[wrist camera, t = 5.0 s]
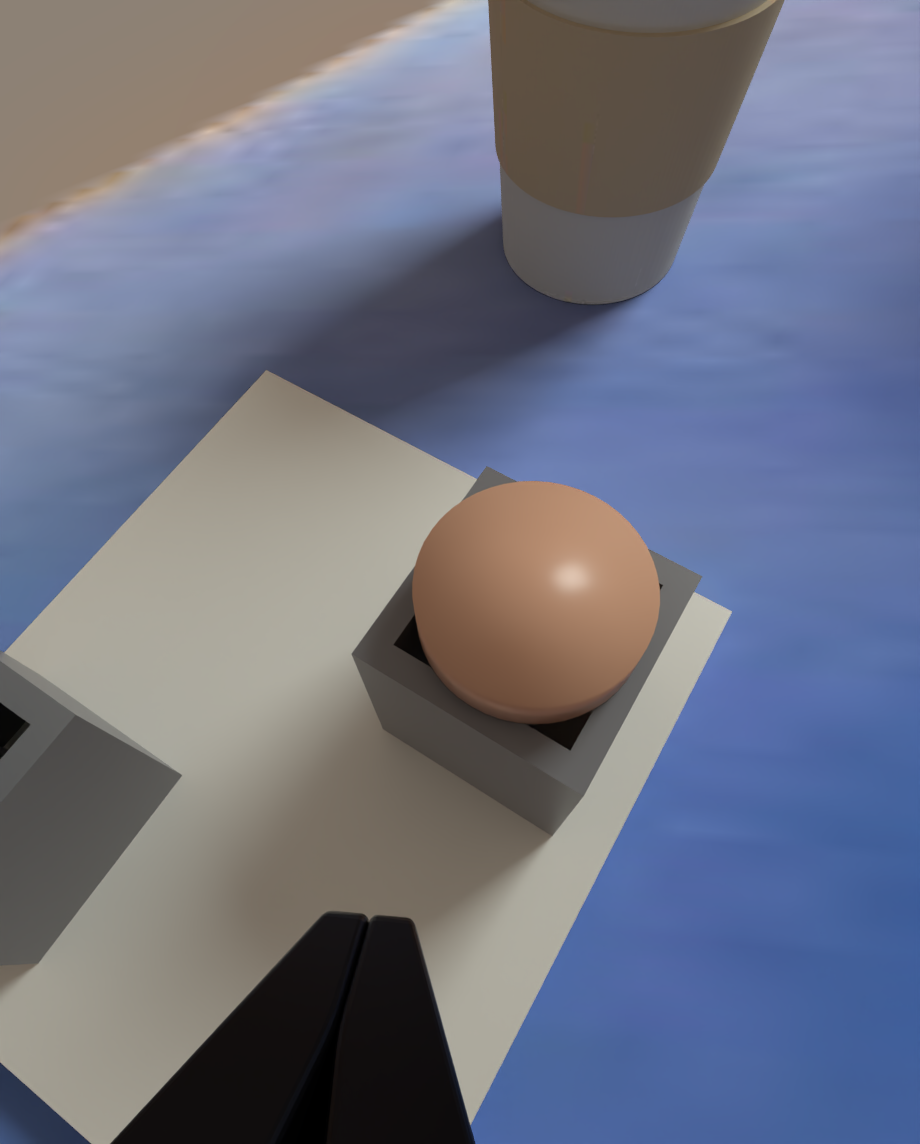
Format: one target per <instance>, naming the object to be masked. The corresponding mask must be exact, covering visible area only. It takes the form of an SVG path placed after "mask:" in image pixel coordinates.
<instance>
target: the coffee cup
mask: <svg viewBox="0 0 920 1144" xmlns="http://www.w3.org/2000/svg"><path fill="white" fill-rule="evenodd" d="M783 3H784V0H488V4H489V24H490V44H491V64H492V85H493V105H494V125H495V145H496V152H497V156H498V159H499V162H500V178H501V202H502V226H503V246H504V252H505V255H506V258H507V261H508V263H509V264H510V266H511V268H512V269H513V271H514V272H515V273H516V274H517V275H518V276H519V277H520V278H521V279H522V280H523V281H524V282H525V283H526V284H528V285H529V286H530V287H532V288H534V289H535V290H537V291H539V292H541V293H543V294H545V295H547V296H550V297H552V298H555V299H558V300H562V301H566V302H571V303H578V304H608V303H614V302H619V301H623V300H626V299H630V298H632V297H635V296H637V295H640V294H642V293H644V292H645V291H647V290H649V289H650V288H652V287H653V286H655V285H656V284H657V283H658V282H659V281H660V280H661V279H662V278H663V277H664V276H665V275H666V274H667V272H668V271H669V269H670V268H671V266H672V264H673V261H674V259H675V256H676V254H677V251H678V249H679V246H680V244H681V241H682V239H683V236H684V234H685V231H686V229H687V226H688V224H689V221H690V219H691V216H692V214H693V211H694V209H695V206H696V204H697V201H698V199H699V196H700V193H701V191H702V188H703V186H704V184H705V183H706V181H707V180H708V179H709V178H710V176H711V175H712V173H713V171H714V169H715V167H716V165H717V162H718V160H719V158H720V155H721V153H722V150H723V148H724V146H725V143H726V141H727V138H728V136H729V133H730V131H731V129H732V126H733V124H734V121H735V119H736V116H737V114H738V112H739V109H740V107H741V104H742V102H743V100H744V97H745V95H746V92H747V90H748V87H749V85H750V83H751V80H752V78H753V75H754V73H755V71H756V68H757V66H758V63H759V61H760V58H761V56H762V54H763V51H764V49H765V46H766V44H767V41H768V39H769V37H770V34H771V32H772V29H773V27H774V25H775V22H776V20H777V17H778V15H779V12H780V10H781V8H782V5H783Z"/></svg>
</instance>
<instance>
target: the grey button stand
mask: <svg viewBox="0 0 920 1144" xmlns="http://www.w3.org/2000/svg"><path fill="white" fill-rule="evenodd" d="M513 482H517V481H515V480H513V479H511V478H509V477H507V476H505V475H503V474H501V473H499V472H497V471H495V470H493V469H491V468H489V467H486V468H485V469H484V471H483V472H482V474H481V475H480V476H479V478H478V479H475V478H474V477H472V476H470V475H468V474H466V473H464V472H462V471H460V470H458V469H456V468H454V467H452V466H450V465H448V464H447V463H445V462H443V461H441V460H439V459H437V458H435V457H433V456H431V455H429V454H427V453H425V452H423V451H422V450H420V449H418V448H416V447H414V446H412V445H410V444H408V443H406V442H404V441H402V440H400V439H398V438H396V437H395V436H393V435H391V434H389V433H387V432H385V431H383V430H381V429H379V428H377V427H375V426H373V425H371V424H369V423H368V422H366V421H364V420H362V419H360V418H358V417H356V416H354V415H352V414H350V413H348V412H346V411H344V410H342V409H341V408H339V407H337V406H335V405H333V404H331V403H329V402H327V401H325V400H323V399H321V398H319V397H317V396H316V395H314V394H312V393H310V392H308V391H306V390H304V389H302V388H300V387H298V386H296V385H294V384H292V383H290V382H289V381H287V380H285V379H283V378H281V377H279V376H277V375H275V374H273V373H271V372H269V371H267V370H266V371H265V372H264V373H263V374H262V375H261V376H260V377H259V379H258V380H257V381H256V382H255V383H254V384H253V385H252V386H251V387H250V388H249V389H248V390H247V391H246V393H245V394H244V395H243V396H242V397H241V398H240V399H239V400H238V401H237V402H236V403H235V404H234V405H233V407H232V408H231V409H230V410H229V411H228V412H227V413H226V414H225V415H224V416H223V417H222V418H221V419H220V421H219V422H218V423H217V424H216V425H215V426H214V427H213V428H212V429H211V430H210V431H209V432H208V434H207V435H206V436H205V437H204V438H203V439H202V440H201V441H200V442H199V443H198V444H197V445H196V446H195V448H194V449H193V450H192V451H191V452H190V453H189V454H188V455H187V456H186V457H185V458H184V459H183V460H182V462H181V463H180V464H179V465H178V466H177V467H176V468H175V469H174V470H173V471H172V472H171V473H170V474H169V476H168V477H167V478H166V479H165V480H164V481H163V482H162V483H161V484H160V485H159V486H158V487H157V488H156V490H155V491H154V492H153V493H152V494H151V495H150V496H149V497H148V498H147V499H146V500H145V501H144V503H143V504H142V505H141V506H140V507H139V508H138V509H137V510H136V511H135V512H134V513H133V514H132V515H131V517H130V518H129V519H128V520H127V521H126V522H125V523H124V524H123V525H122V526H121V527H120V528H119V529H118V531H117V532H116V533H115V534H114V535H113V536H112V537H111V538H110V539H109V540H108V541H107V542H106V543H105V545H104V546H103V547H102V548H101V549H100V550H99V551H98V552H97V553H96V554H95V555H94V556H93V558H92V559H91V560H90V561H89V562H88V563H87V564H86V565H85V566H84V567H83V568H82V569H81V570H80V572H79V573H78V574H77V575H76V576H75V577H74V578H73V579H72V580H71V581H70V582H69V583H68V584H67V586H66V587H65V588H64V589H63V590H62V591H61V592H60V593H59V594H58V595H57V596H56V597H55V598H54V600H53V601H52V602H51V603H50V604H49V605H48V606H47V607H46V608H45V609H44V610H43V611H42V613H41V614H40V615H39V616H38V617H37V618H36V619H35V620H34V621H33V622H32V623H31V624H30V625H29V627H28V628H27V629H26V630H25V631H24V632H23V633H22V634H21V635H20V636H19V637H18V638H17V639H16V641H15V642H14V643H13V644H12V645H11V646H10V647H9V648H8V649H7V650H6V651H5V652H2V651H0V746H1V747H3V748H5V749H8V751H7V752H6V753H5V755H4V756H3V757H2V758H1V759H0V1063H2V1064H3V1065H4V1066H5V1067H6V1068H7V1069H8V1070H9V1071H11V1072H12V1073H13V1074H14V1075H15V1076H16V1077H17V1078H18V1079H20V1080H21V1081H22V1082H23V1083H24V1084H25V1085H26V1086H27V1087H28V1088H30V1089H31V1090H32V1091H33V1092H34V1093H35V1094H36V1095H37V1096H39V1097H40V1098H41V1099H42V1100H43V1101H44V1102H45V1103H46V1104H48V1105H49V1106H50V1107H51V1108H52V1109H53V1110H54V1111H55V1112H56V1113H58V1114H59V1115H60V1116H61V1117H62V1118H63V1119H64V1120H65V1121H67V1122H68V1123H69V1124H70V1125H71V1126H72V1127H73V1128H74V1129H75V1130H77V1131H78V1132H79V1133H80V1134H81V1135H82V1136H83V1137H84V1138H86V1139H87V1140H88V1141H89V1142H90V1143H91V1144H110V1143H111V1142H112V1141H113V1140H114V1139H115V1138H116V1137H117V1136H118V1135H119V1133H120V1132H121V1131H122V1130H123V1129H124V1128H125V1127H126V1126H127V1125H128V1124H129V1123H130V1122H131V1120H132V1119H133V1118H134V1117H135V1116H136V1115H137V1114H138V1113H139V1112H140V1111H141V1110H142V1109H143V1107H144V1106H145V1105H146V1104H147V1103H148V1102H149V1101H150V1100H151V1099H152V1098H153V1097H154V1096H155V1095H156V1093H157V1092H158V1091H159V1090H160V1089H161V1088H162V1087H163V1086H164V1085H165V1084H166V1083H167V1082H168V1080H169V1079H170V1078H171V1077H172V1076H173V1075H174V1074H175V1073H176V1072H177V1071H178V1070H179V1069H180V1067H181V1066H182V1065H183V1064H184V1063H185V1062H186V1061H187V1060H188V1059H189V1058H190V1057H191V1056H192V1055H193V1053H194V1052H195V1051H196V1050H197V1049H198V1048H199V1047H200V1046H201V1045H202V1044H203V1043H204V1042H205V1040H206V1039H207V1038H208V1037H209V1036H210V1035H211V1034H212V1033H213V1032H214V1031H215V1030H216V1029H217V1027H218V1026H219V1025H220V1024H221V1023H222V1022H223V1021H224V1020H225V1019H226V1018H227V1017H228V1016H229V1015H230V1013H231V1012H232V1011H233V1010H234V1009H235V1008H236V1007H237V1006H238V1005H239V1004H240V1003H241V1002H242V1000H243V999H244V998H245V997H246V996H247V995H248V994H249V993H250V992H251V991H252V990H253V989H254V987H255V986H256V985H257V984H258V983H259V982H260V981H261V980H262V979H263V978H264V977H265V976H266V974H267V973H268V972H269V971H270V970H271V969H272V968H273V967H274V966H275V965H276V964H277V963H278V962H279V960H280V959H281V958H282V957H283V956H284V955H285V954H286V953H287V952H288V951H289V950H290V949H291V947H292V946H293V945H294V944H295V943H296V942H297V941H298V940H299V939H300V938H301V937H302V936H303V934H304V933H305V932H306V931H307V930H308V929H309V928H310V927H311V926H312V925H313V924H314V923H315V922H316V920H317V919H318V918H319V917H320V916H321V915H322V914H324V913H325V912H327V911H342V912H353V913H362V914H364V915H366V916H367V917H368V919H369V920H370V919H371V918H372V917H373V916H374V915H386V916H397V917H407V918H410V919H412V920H413V922H414V923H415V926H416V929H417V933H418V936H419V940H420V944H421V947H422V951H423V955H424V958H425V962H426V965H427V969H428V973H429V976H430V980H431V984H432V987H433V991H434V995H435V998H436V1002H437V1006H438V1009H439V1013H440V1017H441V1020H442V1024H443V1028H444V1031H445V1035H446V1038H447V1042H448V1046H449V1049H450V1053H451V1057H452V1060H453V1064H454V1068H455V1071H456V1075H457V1079H458V1082H459V1086H460V1090H461V1093H462V1097H463V1100H464V1104H465V1108H466V1111H467V1115H468V1119H469V1122H470V1125H471V1123H472V1121H473V1119H474V1117H475V1115H476V1113H477V1111H478V1109H479V1107H480V1105H481V1104H482V1102H483V1100H484V1098H485V1096H486V1094H487V1092H488V1090H489V1088H490V1086H491V1084H492V1082H493V1080H494V1078H495V1076H496V1074H497V1072H498V1070H499V1068H500V1066H501V1064H502V1062H503V1060H504V1058H505V1056H506V1054H507V1052H508V1051H509V1049H510V1047H511V1045H512V1043H513V1041H514V1039H515V1037H516V1035H517V1033H518V1031H519V1029H520V1027H521V1025H522V1023H523V1021H524V1019H525V1017H526V1015H527V1013H528V1011H529V1009H530V1007H531V1005H532V1003H533V1001H534V999H535V998H536V996H537V994H538V992H539V990H540V988H541V986H542V984H543V982H544V980H545V978H546V976H547V974H548V972H549V970H550V968H551V966H552V964H553V962H554V960H555V958H556V956H557V954H558V952H559V950H560V948H561V946H562V945H563V943H564V941H565V939H566V937H567V935H568V933H569V931H570V929H571V927H572V925H573V923H574V921H575V919H576V917H577V915H578V913H579V911H580V909H581V907H582V905H583V903H584V901H585V899H586V897H587V895H588V893H589V892H590V890H591V888H592V886H593V884H594V882H595V880H596V878H597V876H598V874H599V872H600V870H601V868H602V866H603V864H604V862H605V860H606V858H607V856H608V854H609V852H610V850H611V848H612V846H613V844H614V842H615V840H616V839H617V837H618V835H619V833H620V831H621V829H622V827H623V825H624V823H625V821H626V819H627V817H628V815H629V813H630V811H631V809H632V807H633V805H634V803H635V801H636V799H637V797H638V795H639V793H640V791H641V789H642V787H643V786H644V784H645V782H646V780H647V778H648V776H649V774H650V772H651V770H652V768H653V766H654V764H655V762H656V760H657V758H658V756H659V754H660V752H661V750H662V748H663V746H664V744H665V742H666V740H667V738H668V736H669V734H670V733H671V731H672V729H673V727H674V725H675V723H676V721H677V719H678V717H679V715H680V713H681V711H682V709H683V707H684V705H685V703H686V701H687V699H688V697H689V695H690V693H691V691H692V689H693V687H694V685H695V683H696V681H697V680H698V678H699V676H700V674H701V672H702V670H703V668H704V666H705V664H706V662H707V660H708V658H709V656H710V654H711V652H712V650H713V648H714V646H715V644H716V642H717V640H718V638H719V636H720V634H721V632H722V630H723V628H724V627H725V625H726V623H727V621H728V619H729V617H730V615H731V613H732V611H730V610H728V609H726V608H724V607H722V606H720V605H718V604H716V603H714V602H713V601H711V600H709V599H707V598H705V597H703V596H701V595H699V594H697V593H695V592H694V591H695V589H696V587H697V585H698V583H699V581H700V580H701V578H702V576H700V575H698V574H696V573H694V572H692V571H690V570H688V569H687V568H685V567H683V566H681V565H679V564H677V563H675V562H673V561H671V560H669V559H667V558H665V557H663V556H661V555H659V554H657V553H655V552H653V551H651V550H649V549H648V550H649V552H650V555H651V557H652V559H653V561H654V565H655V568H656V571H657V575H658V581H659V587H660V608H659V615H658V621H657V624H656V628H655V631H654V634H653V636H652V638H651V641H650V643H649V645H648V647H647V649H646V651H645V652H644V654H643V656H642V657H641V659H640V661H639V662H638V664H637V665H636V667H635V669H634V670H633V672H632V673H631V675H630V676H629V678H628V680H627V681H626V682H625V683H624V684H623V686H622V687H621V688H620V689H619V690H618V691H617V692H616V693H615V694H614V695H613V696H612V697H610V698H609V699H608V700H607V701H606V702H604V703H603V704H601V705H600V706H598V707H596V708H595V709H593V710H591V711H589V712H587V713H585V714H583V715H581V716H578V717H575V718H572V719H568V720H565V721H561V722H555V723H549V724H538V725H536V726H534V727H530V726H528V725H527V724H525V723H515V722H511V721H506V720H502V719H498V718H496V717H493V716H490V715H487V714H485V713H483V712H481V711H479V710H477V709H475V708H473V707H471V706H470V705H468V704H467V703H465V702H464V701H463V700H461V699H460V698H458V697H457V696H456V695H455V694H454V693H453V692H452V691H450V690H449V689H448V688H447V687H446V686H445V685H444V683H443V682H442V681H441V680H440V679H439V677H438V676H437V675H436V673H435V672H434V670H433V669H432V667H431V665H430V664H429V662H428V660H427V658H426V656H425V653H424V651H423V649H422V645H421V642H420V639H419V635H418V629H417V623H416V618H415V612H414V605H413V598H412V581H413V574H414V568H415V564H416V561H417V557H418V554H419V552H420V550H421V547H422V545H423V543H424V541H425V539H426V538H427V536H428V535H429V533H430V531H431V530H432V528H433V527H434V526H435V525H436V524H437V522H438V521H439V520H440V519H441V518H442V517H443V516H444V515H445V514H446V513H447V512H448V511H449V510H451V509H452V508H453V507H454V506H456V505H457V504H459V503H460V502H461V501H463V500H464V499H466V498H468V497H470V496H472V495H474V494H476V493H478V492H480V491H483V490H485V489H488V488H491V487H494V486H498V485H502V484H507V483H513Z"/></svg>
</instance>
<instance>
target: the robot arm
mask: <svg viewBox="0 0 920 1144" xmlns="http://www.w3.org/2000/svg"><path fill="white" fill-rule="evenodd" d="M110 1144H475V1141H474V1137H473V1133H472V1130H471V1126H470V1122H469V1119H468V1115H467V1111H466V1108H465V1104H464V1100H463V1097H462V1093H461V1090H460V1086H459V1082H458V1079H457V1075H456V1071H455V1068H454V1064H453V1060H452V1057H451V1053H450V1049H449V1046H448V1042H447V1038H446V1035H445V1031H444V1028H443V1024H442V1020H441V1017H440V1013H439V1009H438V1006H437V1002H436V998H435V995H434V991H433V987H432V984H431V980H430V976H429V973H428V969H427V965H426V962H425V958H424V955H423V951H422V947H421V944H420V940H419V936H418V933H417V929H416V926H415V923H414V922H413V920H412V919H410V918H407V917H397V916H386V915H374V916H373V917H372V918H371V919H370V920H369V919H368V917H367V916H366V915H364V914H362V913H353V912H342V911H327V912H325V913H324V914H322V915H321V916H320V917H319V918H318V919H317V920H316V922H315V923H314V924H313V925H312V926H311V927H310V928H309V929H308V930H307V931H306V932H305V933H304V934H303V936H302V937H301V938H300V939H299V940H298V941H297V942H296V943H295V944H294V945H293V946H292V947H291V949H290V950H289V951H288V952H287V953H286V954H285V955H284V956H283V957H282V958H281V959H280V960H279V962H278V963H277V964H276V965H275V966H274V967H273V968H272V969H271V970H270V971H269V972H268V973H267V974H266V976H265V977H264V978H263V979H262V980H261V981H260V982H259V983H258V984H257V985H256V986H255V987H254V989H253V990H252V991H251V992H250V993H249V994H248V995H247V996H246V997H245V998H244V999H243V1000H242V1002H241V1003H240V1004H239V1005H238V1006H237V1007H236V1008H235V1009H234V1010H233V1011H232V1012H231V1013H230V1015H229V1016H228V1017H227V1018H226V1019H225V1020H224V1021H223V1022H222V1023H221V1024H220V1025H219V1026H218V1027H217V1029H216V1030H215V1031H214V1032H213V1033H212V1034H211V1035H210V1036H209V1037H208V1038H207V1039H206V1040H205V1042H204V1043H203V1044H202V1045H201V1046H200V1047H199V1048H198V1049H197V1050H196V1051H195V1052H194V1053H193V1055H192V1056H191V1057H190V1058H189V1059H188V1060H187V1061H186V1062H185V1063H184V1064H183V1065H182V1066H181V1067H180V1069H179V1070H178V1071H177V1072H176V1073H175V1074H174V1075H173V1076H172V1077H171V1078H170V1079H169V1080H168V1082H167V1083H166V1084H165V1085H164V1086H163V1087H162V1088H161V1089H160V1090H159V1091H158V1092H157V1093H156V1095H155V1096H154V1097H153V1098H152V1099H151V1100H150V1101H149V1102H148V1103H147V1104H146V1105H145V1106H144V1107H143V1109H142V1110H141V1111H140V1112H139V1113H138V1114H137V1115H136V1116H135V1117H134V1118H133V1119H132V1120H131V1122H130V1123H129V1124H128V1125H127V1126H126V1127H125V1128H124V1129H123V1130H122V1131H121V1132H120V1133H119V1135H118V1136H117V1137H116V1138H115V1139H114V1140H113V1141H112V1142H111V1143H110Z"/></svg>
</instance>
